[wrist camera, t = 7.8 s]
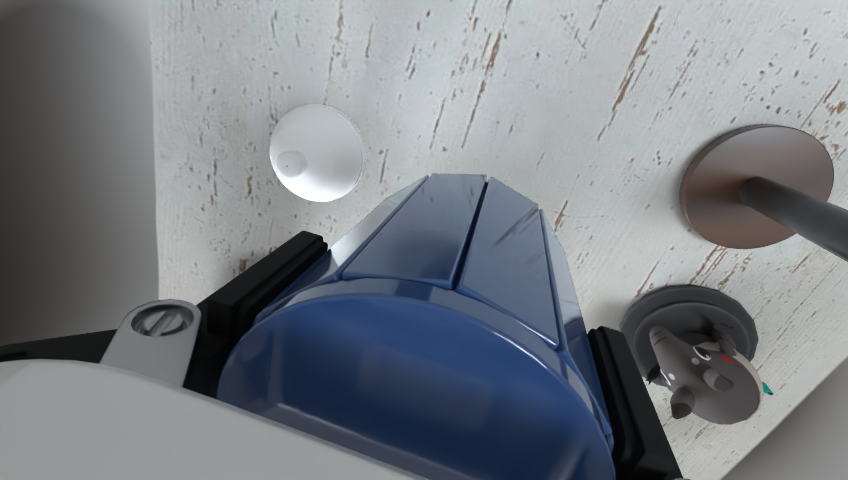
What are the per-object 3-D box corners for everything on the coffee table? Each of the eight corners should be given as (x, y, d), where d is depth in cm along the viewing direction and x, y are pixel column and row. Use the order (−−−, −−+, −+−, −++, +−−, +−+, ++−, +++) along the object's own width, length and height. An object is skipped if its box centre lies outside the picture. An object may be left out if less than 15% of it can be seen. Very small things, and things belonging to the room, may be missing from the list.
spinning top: (301, 131, 39) (217, 152, 28) (356, 81, 36) (286, 83, 25) (349, 194, 41) (287, 236, 30) (406, 151, 38) (360, 181, 27)
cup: (327, 231, 15) (142, 378, 8) (502, 131, 12) (477, 211, 5) (425, 377, 16) (351, 615, 9) (599, 318, 14) (690, 588, 6)
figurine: (679, 403, 41) (734, 516, 31) (591, 334, 40) (617, 425, 30) (784, 339, 36) (892, 446, 26) (687, 259, 36) (757, 336, 25)
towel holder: (660, 163, 33) (748, 215, 21) (802, 98, 30) (1014, 114, 17) (702, 261, 35) (804, 363, 23) (839, 212, 32) (1051, 302, 19)
